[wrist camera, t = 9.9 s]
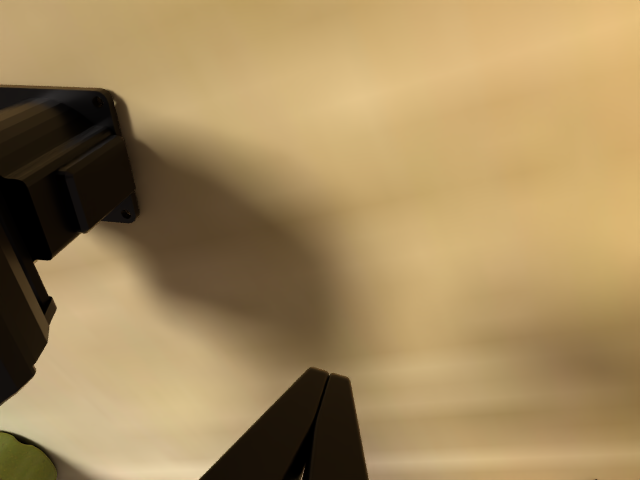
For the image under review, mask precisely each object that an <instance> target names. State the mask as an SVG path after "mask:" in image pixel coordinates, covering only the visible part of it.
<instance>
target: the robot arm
mask: <svg viewBox="0 0 640 480" xmlns="http://www.w3.org/2000/svg"><path fill="white" fill-rule="evenodd" d="M97 97H99V98H101V99H102V101H103V105H101V104H100V103H99V102H98V100H97ZM126 210H128V211H129V212H130V214H131V215H129V214H128V213H127V212H126ZM139 215H140V211H139V207H138V203H137V198H136V194H135V183H134V179H133V175H132V171H131V166H130V162H129V158H128V154H127V149H126V145H125V141H124V140H123V138H122V135H121V131H120V126H119V122H118V118H117V114H116V109H115V105H114V101H113V98H112V96H111V95H110V93H109V92H108V91H106V90H105V89H101V88H80V87H53V86H25V85H0V406H1V405H2V404H3V403H4V402H5V401H7V400H8V399H10V398H11V397H12V396H14V395H15V394H17V393H18V392H19V391H20V390H21V389H22V388H23V387H24V386H25V385H26V384H27V383H28V382H29V381H30V380H31V379H32V378H33V376H34V375H35V373H36V368H35V367H34V364H35V363H36V361H37V360H38V358H39V356H40V355H41V353H42V351H43V350H44V348H45V346H46V344H47V343H48V334H49V325H50V322H51V320H52V318H53V316H54V314H55V311H56V309H57V307H56V305H55V303H54V300H53V298H52V297H51V296H48V294H47V291H46V289H45V287H44V285H43V283H42V280H41V278H40V276H39V274H38V272H37V269H36V267H35V265H34V263H35V262H37V261H38V260H47V261H48V260H51V259H52V258H53V257H55V256H56V255H57V254H58V253H59V252H60V251H61V250H63V249H64V248H65V247H66V246H67V245H68V244H69V243H71V242H72V241H73V240H74V239H75V238H76V237H77V236H79V235H80V234H81V233H84V234H85V233H88V232H89V231H90V230H91V229H92V228H93V227H94V226H95V225H97V224H98V223H99V222H100V221H108V222H120V223H132V222H134V221H135V220H136V219H137V218H138V217H139ZM303 471H304V473H303ZM302 474H303V477H302ZM301 477H302V480H369V479H368V473H367V468H366V463H365V457H364V452H363V446H362V441H361V436H360V430H359V425H358V419H357V414H356V409H355V403H354V398H353V393H352V387H351V382H350V379H349V378H348V377H346V376H342V375H339V374H335V373H331V374H330V375H329V373H328V372H327V371H325V370H322V369H318V368H315V367H310V368H309V369H307V370H306V371H305V372H304V373H303V374H302V375H301V376H300V377H299V378H298V379H297V380H296V381H295V382H294V384H293V385H292V386H291V387H290V388H289V389H288V390H287V391H286V392H285V393H284V394H283V395H282V396H281V397H280V398H279V399H278V400H277V401H276V402H275V403H274V404H273V405H272V406H271V407H270V408H269V409H268V410H267V411H266V412H265V413H264V414H263V415H262V416H261V417H260V418H259V419H258V420H257V421H256V422H255V423H254V424H253V425H252V426H251V427H250V428H249V429H248V430H247V431H246V432H245V433H244V434H243V435H242V436H241V437H240V438H239V439H238V440H237V441H236V442H235V443H234V444H233V445H232V446H231V448H230V449H229V450H228V451H227V452H226V453H225V454H224V455H223V456H222V457H221V458H220V459H219V460H218V461H217V462H216V463H215V464H214V465H213V466H212V467H211V468H210V469H209V470H208V471H207V472H206V473H205V474H204V475H203V476H202V477H201V478H200V479H199V480H301Z"/></svg>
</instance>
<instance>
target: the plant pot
mask: <svg viewBox="0 0 640 480" xmlns="http://www.w3.org/2000/svg"><path fill="white" fill-rule="evenodd" d="M56 477H57V472H56V469H55V466H54V465H53V463H52V462H51V460H50V459H49V458H48V457H47V456H46V455H45V454H44V453H43V452H42V451H41V450H40V449H38V448H36V447H34V446H33V445H25V444H22V443H20V442H18V441H17V440H16V439H15V437H14V436H12V435H10V434H7V433H2V432H0V480H56Z"/></svg>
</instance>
